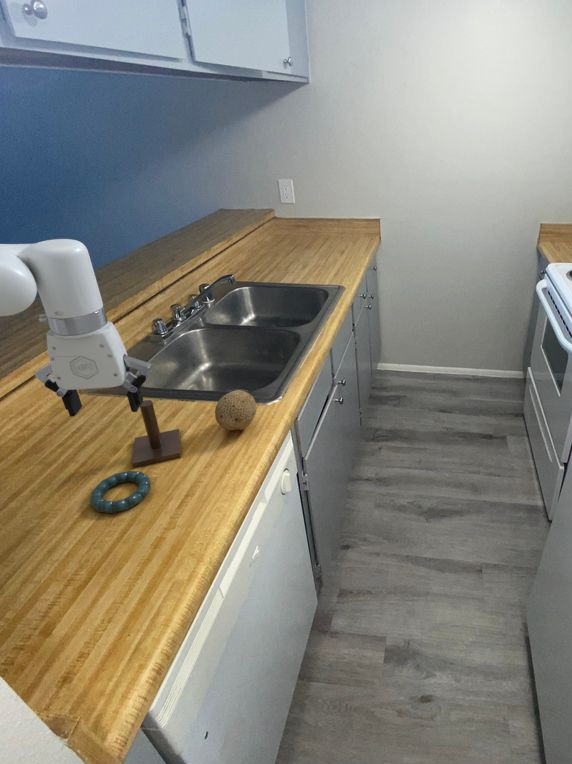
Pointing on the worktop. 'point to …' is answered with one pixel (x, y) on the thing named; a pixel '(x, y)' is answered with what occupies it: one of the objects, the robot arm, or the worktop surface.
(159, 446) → the post
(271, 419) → the worktop surface
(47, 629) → the worktop surface
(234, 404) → the natural sponge
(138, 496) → the ring
